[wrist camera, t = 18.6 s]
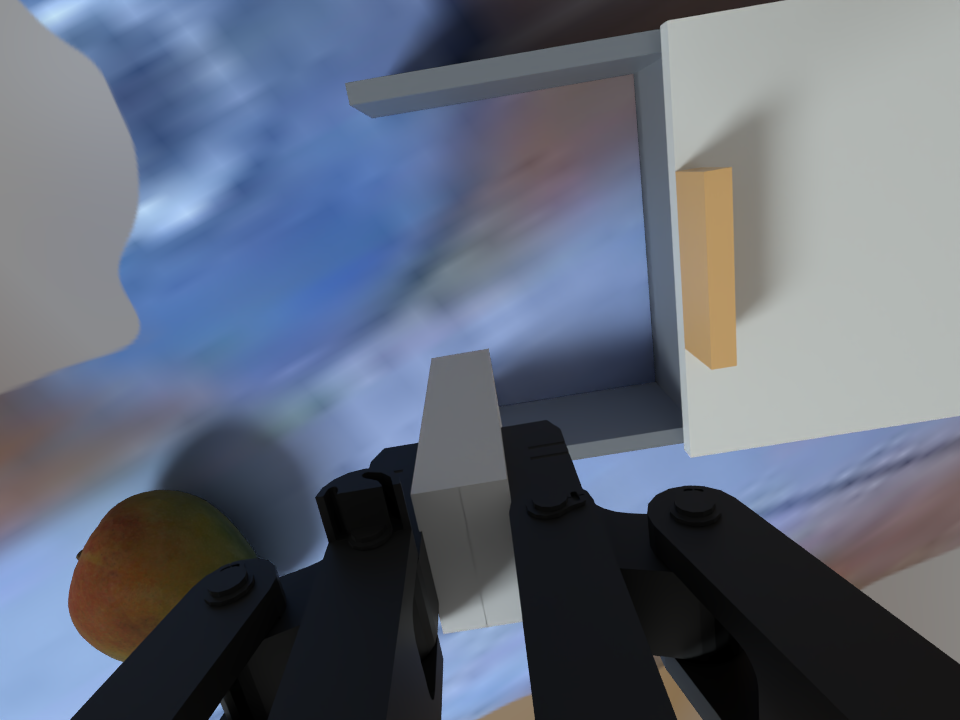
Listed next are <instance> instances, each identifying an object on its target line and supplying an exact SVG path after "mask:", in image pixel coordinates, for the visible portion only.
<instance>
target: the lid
mask: <svg viewBox="0 0 960 720" xmlns="http://www.w3.org/2000/svg"><path fill="white" fill-rule="evenodd" d="M660 32H661V50H662V67H663V85H664V102H665V120H666V137H667V155H668V172H669V190H670V207H671V225H672V242H673V260H674V277H675V295H676V313H677V330H678V348H679V365H680V383H681V400H682V418H683V435H684V450H685V451H686V452H687V454H688V455H689V456H690V457H691V458H692V457H698V456H705V455H711V454H718V453H724V452H731V451H737V450H743V449H750V448H756V447H763V446H769V445H776V444H782V443H788V442H795V441H801V440H808V439H814V438H820V437H827V436H833V435H840V434H846V433H853V432H859V431H865V430H872V429H878V428H885V427H891V426H897V425H904V424H910V423H917V422H923V421H930V420H936V419H942V418H949V417H955V416H960V0H784V1H778V2H772V3H767V4H761V5H755V6H749V7H743V8H738V9H732V10H726V11H720V12H715V13H709V14H703V15H697V16H691V17H686V18H680V19H674V20H668V21H666V22H665V23H663V24H662V25H661V26H660Z"/></svg>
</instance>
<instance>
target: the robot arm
mask: <svg viewBox="0 0 960 720" xmlns="http://www.w3.org/2000/svg"><path fill="white" fill-rule="evenodd" d="M315 498H316V502H317V505H318V508H319V512H320V515H321V518H322V522H323V525H324V528H325V532H326V535H327V538H328V542H329V543H328V546H327V549H326V552H325V555H324V558H323V560H321V561H319V562H317V563H315V564H313V565H311V566H308V567H306V568H303V569H301V570H298V571H295V572H293V573H290V574H287V575H285V576H282V577H279V576H278V573H277V570H276V567H275V566H274V565H273V564H272V563H271V562H269V561H268V560H264V559H258V558H253V559H246V560H239V561H235V562H232V563H231V564H230V563H229V564H226V565H224V566H221V567H220V568H219V569H217V570H215V571H214V572H212V573H210V574H208V575H207V576H205V577H204V578H203V579H202V580H201V581H199V582H198V583H197V584H196V585H195V586H194V587H192V588H191V589H190V591H189V592H188V593H187V594H186V595H185V596H184V597H183V598H182V599H181V600H180V601H179V602H178V604H177V605H176V606H175V607H174V608H173V609H172V610H171V611H170V612H169V613H168V614H167V615H166V617H165V618H164V619H163V620H162V621H161V622H160V623H159V624H158V625H157V626H156V627H155V628H154V630H153V631H152V632H151V633H150V634H149V635H148V636H147V637H146V638H145V639H144V640H143V641H142V642H141V644H140V645H139V646H138V647H137V648H136V649H135V650H134V651H133V652H132V653H131V654H130V655H129V657H128V658H127V659H126V660H125V661H124V662H123V663H122V664H121V665H120V666H119V667H118V668H117V670H116V671H115V672H114V673H113V674H112V675H111V676H110V677H109V678H108V679H107V680H106V681H105V683H104V684H103V685H102V686H101V687H100V688H99V689H98V690H97V691H96V692H95V693H94V694H93V695H92V697H91V698H90V699H89V700H88V701H87V702H86V703H85V704H84V705H83V706H82V707H81V708H80V710H79V711H78V712H77V713H76V714H75V715H74V716H73V717H72V718H71V719H70V720H208V719H209V718H210V717H211V715H212V714H213V712H214V711H215V709H216V708H217V706H218V705H219V703H221V705H222V708H223V710H224V714H223V715H222V717H221V718H220V720H441V710H442V681H443V656H442V651H441V647H440V643H439V638H438V634H437V632H438V613H439V617H440V621H441V625H442V629H443V634H447V633H453V632H460V631H466V630H472V629H479V628H485V627H492V626H498V625H504V624H511V623H517V622H523V628H524V636H525V644H526V652H527V660H528V668H529V675H530V683H531V691H532V699H533V707H534V714H535V720H677V718H676V715H675V713H674V710H673V708H672V705H671V702H670V699H669V697H668V694H667V692H666V689H665V686H664V684H663V681H662V679H661V676H660V673H659V671H658V668H657V665H656V663H655V660H654V657H653V655H655V656H660V657H661V659H662V661H663V664H664V666H665V668H666V670H667V671H668V672H669V674H670V675H671V676H672V678H673V679H674V681H675V682H676V683H677V685H678V686H679V688H680V689H681V690H682V692H683V693H684V694H685V696H686V697H687V698H688V700H689V701H690V703H691V704H692V705H693V707H694V708H695V710H696V711H697V712H698V714H699V715H700V716H701V718H702V719H703V720H960V664H959V663H957V662H956V661H955V660H953V659H952V658H951V657H949V656H948V655H947V654H945V653H944V652H943V651H941V650H940V649H939V648H937V647H936V646H935V645H933V644H932V643H930V642H929V641H928V640H926V639H925V638H924V637H922V636H921V635H919V634H918V633H917V632H916V631H914V630H913V629H912V628H910V627H909V626H908V625H906V624H905V623H903V622H902V621H901V620H899V619H898V618H897V617H895V616H894V615H892V614H891V613H890V612H889V611H887V610H886V609H884V608H883V607H882V606H880V605H879V604H878V603H876V602H875V601H874V600H872V599H871V598H870V597H868V596H867V595H866V594H864V593H863V592H862V591H860V590H859V589H858V588H856V587H855V586H854V585H852V584H851V583H849V582H848V581H847V580H845V579H844V578H843V577H841V576H840V575H839V574H837V573H836V572H835V571H833V570H832V569H831V568H829V567H828V566H827V565H825V564H824V563H822V562H821V561H820V560H818V559H817V558H816V557H814V556H813V555H812V554H810V553H809V552H808V551H806V550H805V549H804V548H802V547H801V546H800V545H798V544H797V543H795V542H794V541H793V540H791V539H790V538H789V537H787V536H786V535H785V534H783V533H782V532H781V531H779V530H778V529H777V528H775V527H774V526H773V525H771V524H770V523H768V522H767V521H766V520H764V519H763V518H762V517H760V516H759V515H758V514H756V513H755V512H754V511H752V510H751V509H750V508H748V507H747V506H746V505H744V504H743V503H741V502H740V501H739V500H737V499H736V498H735V497H733V496H731V495H729V494H727V493H725V492H723V491H721V490H717V489H713V488H709V487H705V486H682V487H676V488H671V489H668V490H666V491H664V492H661V493H659V494H657V495H656V496H655V497H654V498H653V499H652V500H651V501H650V503H649V504H648V511H647V514H634V513H622V512H615V511H611V510H607V509H604V508H602V507H600V506H598V505H596V504H595V503H594V500H593V498H592V497H591V496H590V495H589V493H588V492H587V491H586V490H584V489H582V487H581V484H580V481H579V478H578V476H577V473H576V470H575V467H574V465H573V462H572V459H571V456H570V454H569V451H568V448H567V446H566V443H565V440H564V437H563V435H562V432H561V429H560V428H559V427H557V426H555V425H554V424H552V423H551V422H549V421H548V420H542V421H536V422H530V423H524V424H518V425H512V426H506V427H502V423H501V417H500V411H499V406H498V400H497V394H496V388H495V382H494V377H493V371H492V365H491V359H490V353H489V349H484V350H478V351H472V352H466V353H461V354H455V355H449V356H443V357H437V358H432V360H431V366H430V372H429V379H428V385H427V392H426V398H425V404H424V411H423V417H422V424H421V430H420V437H419V443H414V444H408V445H402V446H396V447H390V448H384V449H383V450H382V451H381V452H380V453H379V454H378V455H377V456H376V457H375V458H374V459H373V460H372V461H371V464H370V467H369V469H362V470H358V471H354V472H350V473H347V474H345V475H343V476H341V477H339V478H336V479H334V480H333V481H331V482H330V483H329V484H327V485H326V486H324V487H323V488H322V489H321V490H320V492H319V493H318V494H317V496H316V497H315Z"/></svg>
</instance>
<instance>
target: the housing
mask: <svg viewBox="0 0 960 720" xmlns="http://www.w3.org/2000/svg"><path fill="white" fill-rule="evenodd" d="M629 74H634V86H635V100H636V114H637V128H638V142H639V156H640V170H641V184H642V199H643V213H644V227H645V241H646V255H647V269H648V283H649V297H650V311H651V325H652V339H653V353H654V367H655V381H656V382H651V383H644V384H638V385H632V386H626V387H619V388H613V389H607V390H600V391H594V392H588V393H582V394H575V395H569V396H563V397H556V398H550V399H544V400H537V401H531V402H525V403H519V404H512V405H506V406H500V407H499V411H500V417H501V423H502V427H506V426H512V425H518V424H524V423H530V422H536V421H542V420H548V421H549V422H551V423H552V424H554V425H555V426H557V427H559V428H560V429H561V432H562V435H563V437H564V440H565V443H566V446H567V448H568V451H569V454H570V456H571V459H572V460H577V459H584V458H590V457H597V456H603V455H609V454H616V453H622V452H629V451H635V450H641V449H648V448H654V447H661V446H667V445H673V444H680V443H684V435H683V418H682V400H681V383H680V365H679V348H678V330H677V313H676V295H675V277H674V260H673V242H672V225H671V207H670V190H669V172H668V155H667V137H666V120H665V102H664V85H663V67H662V50H661V32H660V29H657V30H651V31H645V32H639V33H633V34H628V35H622V36H616V37H610V38H604V39H599V40H593V41H587V42H581V43H575V44H569V45H564V46H558V47H552V48H546V49H540V50H535V51H529V52H523V53H517V54H511V55H506V56H500V57H494V58H488V59H482V60H477V61H471V62H465V63H459V64H453V65H448V66H442V67H436V68H430V69H424V70H419V71H413V72H407V73H401V74H395V75H390V76H384V77H378V78H372V79H366V80H360V81H355V82H349V83H345V85H346V90H347V94H348V99H349V104H350V106H352V107H353V108H355V109H357V110H359V111H360V112H362V113H364V114H366V115H367V116H369V117H371V118H377V117H383V116H389V115H395V114H401V113H407V112H413V111H418V110H424V109H430V108H436V107H442V106H448V105H454V104H459V103H465V102H471V101H477V100H483V99H489V98H495V97H500V96H506V95H512V94H518V93H524V92H530V91H536V90H541V89H547V88H553V87H559V86H565V85H571V84H577V83H582V82H588V81H594V80H600V79H606V78H612V77H618V76H623V75H629Z"/></svg>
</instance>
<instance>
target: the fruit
mask: <svg viewBox="0 0 960 720" xmlns="http://www.w3.org/2000/svg"><path fill="white" fill-rule="evenodd" d="M76 558H77V559H78V560H79V561H78V563H77V565H76V567H75V570H74V573H73V577H72V581H71V585H70V590H69V598H68V607H69V613H70V616H71V619H72V622H73V624H74V626H75V627H76V629H77V631H78V632H79V634H80V635H81V636H82V637H83V638H84V639H85V640H86V641H87V642H88V643H89V644H91V645H92V646H93V647H95V648H96V649H97V650H99V651H101V652H102V653H104V654H106V655H108V656H109V657H111V658H114V659H116V660H119V661H122V662H124V661H125V660H126V659H127V658H128V657H129V655H130V654H131V653H132V652H133V651H134V650H135V649H136V648H137V647H138V646H139V645H140V644H141V642H142V641H143V640H144V639H145V638H146V637H147V636H148V635H149V634H150V633H151V632H152V631H153V630H154V628H155V627H156V626H157V625H158V624H159V623H160V622H161V621H162V620H163V619H164V618H165V617H166V615H167V614H168V613H169V612H170V611H171V610H172V609H173V608H174V607H175V606H176V605H177V604H178V602H179V601H180V600H181V599H182V598H183V597H184V596H185V595H186V594H187V593H188V592H189V591H190V589H191V588H192V587H194V586H195V585H196V584H197V583H198V582H199V581H201V580H202V579H203V578H204V577H205V576H207V575H208V574H210V573H212V572H214V571H215V570H217V569H219V568H220V567H221V566H224V565H226V564H229V563H230V564H231V563H232V562H235V561H239V560H246V559H253V558H258V557H257V556H256V554H255V552H254V551H253V549H252V548H251V546H250V545H249V543H248V542H247V541H246V539H245V538H244V537H243V536H242V534H241V533H240V532H239V530H238V529H237V528H236V527H235V526H234V525H233V524H232V523H231V521H230V520H229V519H228V518H227V517H226V516H225V515H223V514H222V513H221V512H220V511H219V510H218V509H217V508H215V507H214V506H212V505H211V504H210V503H208V502H207V501H205V500H203V499H201V498H199V497H196V496H194V495H191V494H188V493H184V492H180V491H173V490H154V491H149V492H143V493H140V494H137V495H134V496H131V497H129V498H127V499H125V500H123V501H122V502H120V503H118V504H117V505H116V506H115V507H113V508H112V509H111V510H110V511H109V512H108V513H107V514H106V515H105V517H104V518H103V519H102V520H101V522H100V524H99V525H98V527H97V528H96V529H95V531H94V532H93V533H92V534H91V536H90V537H89V539H88V541H87V543H86V545H85V546H84V548H83V550H81V551H80V552H79V553H78V554H77V556H76Z"/></svg>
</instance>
